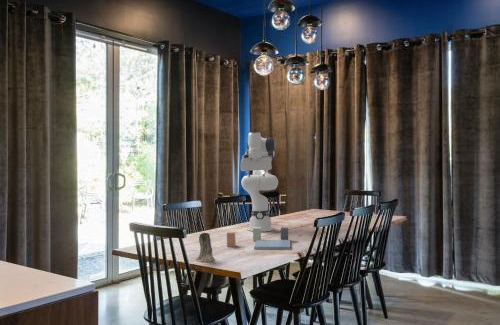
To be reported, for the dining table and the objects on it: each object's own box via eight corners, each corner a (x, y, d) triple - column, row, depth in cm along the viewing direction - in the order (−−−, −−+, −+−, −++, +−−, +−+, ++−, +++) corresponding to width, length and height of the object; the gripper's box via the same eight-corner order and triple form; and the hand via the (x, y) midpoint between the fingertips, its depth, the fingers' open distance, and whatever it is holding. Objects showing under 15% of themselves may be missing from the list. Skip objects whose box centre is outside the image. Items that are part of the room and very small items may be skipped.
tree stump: (201, 263, 217) (200, 235, 217) (192, 259, 225) (192, 233, 225) (219, 260, 222) (218, 233, 222) (209, 257, 231) (209, 231, 231)
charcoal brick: (281, 240, 273) (280, 227, 273) (288, 240, 273) (288, 227, 272) (281, 241, 268) (280, 228, 268) (288, 241, 268) (288, 228, 268)
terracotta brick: (228, 245, 259) (227, 231, 259) (235, 245, 259) (235, 231, 259) (227, 246, 255) (226, 233, 255) (234, 246, 255) (234, 233, 254)
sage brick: (253, 240, 274) (253, 227, 274) (260, 240, 274) (260, 227, 274) (253, 241, 270) (253, 228, 270) (260, 241, 269) (260, 228, 269)
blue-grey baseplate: (256, 242, 267) (256, 239, 267) (289, 242, 265) (289, 239, 265) (254, 249, 247) (254, 246, 247) (290, 249, 245) (290, 246, 245)
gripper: (271, 155, 287) (272, 176, 285) (240, 157, 288) (241, 178, 286) (271, 154, 281) (272, 175, 279) (239, 156, 282) (240, 177, 280)
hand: (256, 177), depth 283 cm, fingers open, 8 cm apart
